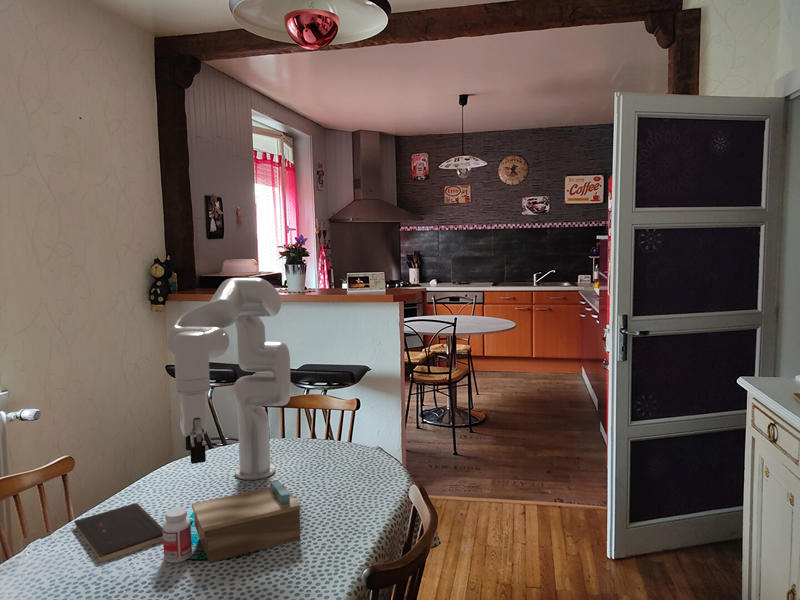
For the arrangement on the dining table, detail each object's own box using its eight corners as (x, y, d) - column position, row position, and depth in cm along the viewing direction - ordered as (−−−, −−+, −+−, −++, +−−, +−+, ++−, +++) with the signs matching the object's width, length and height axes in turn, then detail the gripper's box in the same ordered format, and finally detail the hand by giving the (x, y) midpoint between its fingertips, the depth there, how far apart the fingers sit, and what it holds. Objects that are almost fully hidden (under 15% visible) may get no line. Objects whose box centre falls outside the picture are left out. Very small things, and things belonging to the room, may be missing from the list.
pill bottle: (190, 547, 140) (188, 503, 139) (193, 559, 134) (191, 514, 133) (163, 553, 137) (160, 509, 136) (164, 566, 132) (162, 520, 131)
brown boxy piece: (199, 538, 144) (197, 507, 143) (284, 517, 155) (283, 489, 154) (208, 563, 133) (207, 530, 132) (300, 539, 143) (299, 508, 143)
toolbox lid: (192, 519, 144) (191, 493, 143) (283, 499, 155) (282, 475, 154) (202, 545, 131) (201, 517, 131) (300, 521, 142) (299, 495, 142)
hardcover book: (100, 565, 133) (99, 556, 133) (74, 529, 150) (74, 520, 150) (169, 541, 144) (169, 532, 144) (138, 510, 161) (138, 502, 161)
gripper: (172, 379, 141) (175, 447, 142) (179, 394, 125) (182, 471, 127) (204, 375, 144) (206, 442, 145) (215, 390, 129) (218, 465, 130)
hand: (195, 455), depth 136 cm, fingers open, 9 cm apart
